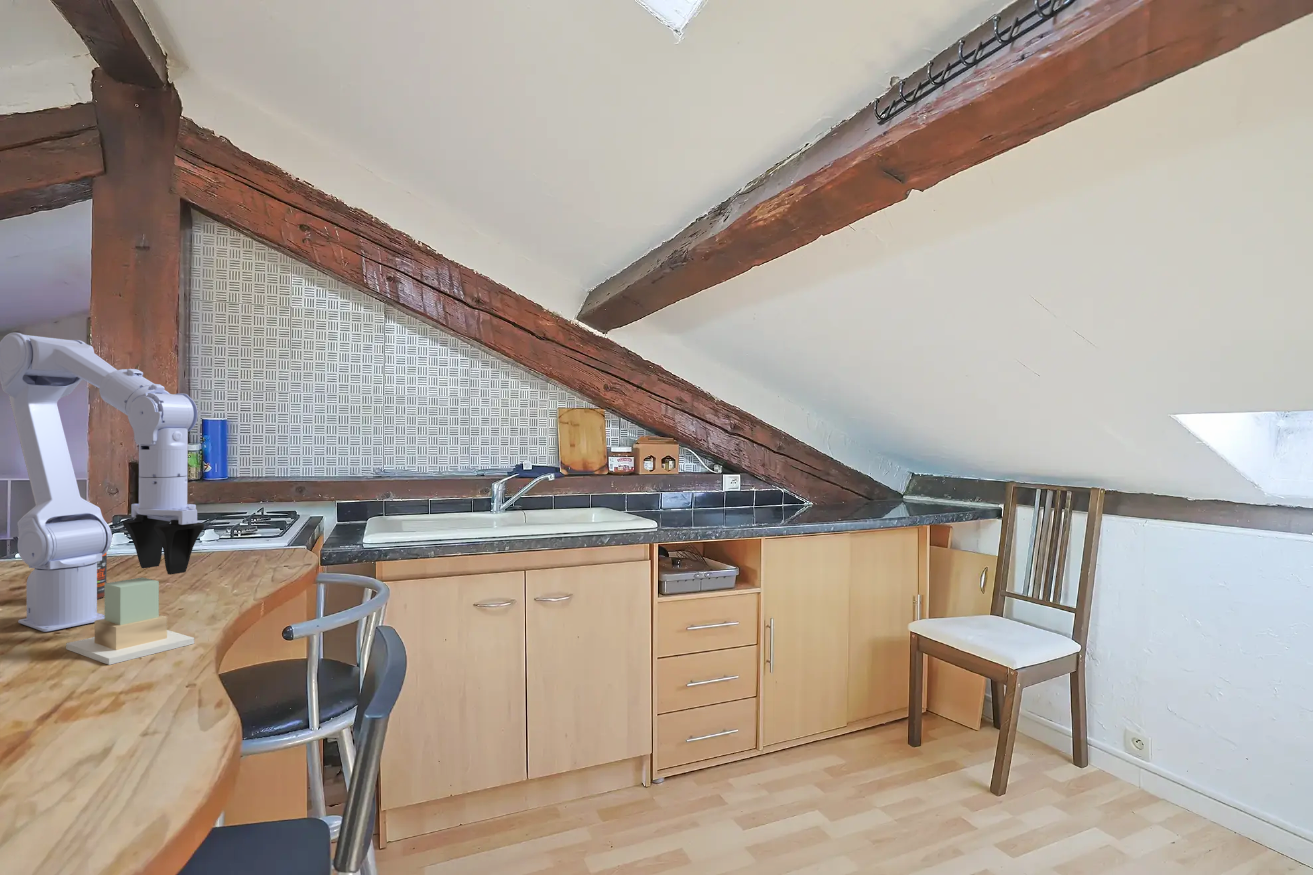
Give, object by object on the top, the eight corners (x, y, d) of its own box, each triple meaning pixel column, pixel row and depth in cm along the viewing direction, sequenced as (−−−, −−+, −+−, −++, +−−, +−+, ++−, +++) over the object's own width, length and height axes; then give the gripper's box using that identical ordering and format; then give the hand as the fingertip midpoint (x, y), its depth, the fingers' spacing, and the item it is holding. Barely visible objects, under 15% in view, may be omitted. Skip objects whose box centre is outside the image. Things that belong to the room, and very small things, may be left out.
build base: (66, 649, 92) (66, 621, 92) (150, 630, 101) (150, 604, 101) (109, 665, 86) (109, 635, 86) (194, 643, 95) (194, 616, 95)
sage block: (104, 620, 93) (104, 583, 93) (142, 612, 97) (142, 577, 96) (120, 625, 90) (120, 587, 90) (158, 617, 94) (158, 581, 94)
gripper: (220, 477, 98) (219, 571, 99) (168, 472, 106) (168, 560, 106) (165, 480, 92) (164, 580, 92) (114, 475, 100) (114, 568, 100)
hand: (163, 570), depth 99 cm, fingers open, 7 cm apart
